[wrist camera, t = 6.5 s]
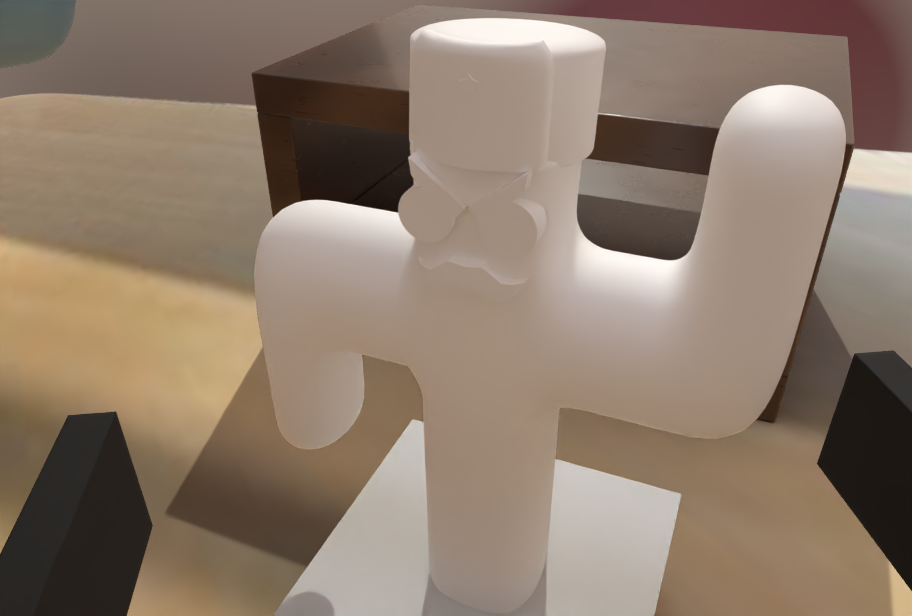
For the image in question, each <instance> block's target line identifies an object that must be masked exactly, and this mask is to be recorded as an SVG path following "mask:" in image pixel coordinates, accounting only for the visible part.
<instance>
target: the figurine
mask: <svg viewBox="0 0 912 616" xmlns="http://www.w3.org/2000/svg"><path fill="white" fill-rule="evenodd" d="M605 52H606V44H605V41H604V40H603V39H602V38H601V37H600V36H598V35H597V34H594V33H592V32H590V31H588V30H585V29H582V28H578V27H575V26H570V25H565V24H560V23H553V22H546V21H537V20H526V19H508V18H476V19H460V20H450V21H443V22H438V23H434V24H429V25H427V26H424V27H421V28H419V29H417V30H416V31H415V32H413V33H412V34H411V37H410V87H409V141H410V154H411V156H409V157H408V160H409V166H410V173H411V176H412V177H413V182H414V185H413V186H412V187H411V188H410V189H408V190H407V191H406V192H405V193H404V194H403V195H402V197H401V199H400V201H399V205H398V213H397V212H391V211H386V210H380V209H374V208H369V207H363V206H358V205H352V204H346V203H341V202H335V201H328V200H308V201H302V202H297V203H294V204H292V205H290V206H288V207H286V208H284V209H282V210H281V211H280V212H279V213H278V214H276V215H275V216H274V217H273V218H272V219H271V220H270V222H269V223H268V225H267V226H266V228H265V229H264V231H263V233H262V235H261V238H260V241H259V244H258V248H257V252H256V259H255V269H254V286H255V299H256V307H257V315H258V321H259V327H260V333H261V339H262V344H263V350H264V356H265V361H266V367H267V372H268V378H269V384H270V389H271V395H272V401H273V406H274V412H275V417H276V421H277V425H278V429H279V431H280V433H281V434H282V436H283V438H284V439H285V440H286V441H287V442H288V443H289V444H291V445H293V446H295V447H297V448H300V449H307V450H310V449H319V448H323V447H326V446H328V445H330V444H332V443H334V442H335V441H337V440H338V439H340V438H341V437H342V436H343V435H344V434H345V433H346V432H347V431H348V430H349V429H350V428H351V427H352V425H353V424H354V423H355V421H356V419H357V417H358V415H359V413H360V411H361V408H362V405H363V401H364V375H363V363H362V355H366V356H370V357H374V358H378V359H381V360H385V361H389V362H393V363H397V364H401V365H405V366H408V367H409V369H410V370H411V372H412V373H413V375H414V377H415V379H416V381H417V382H418V385H419V387H420V389H421V392H422V396H423V421H424V422H421V421H418V420H414V419H412V421H411V422H410V424H409V425H408V426H407V428H406V429H405V431H404V432H403V433H402V435H401V436H400V438H399V439H398V440H397V442H396V443H395V445H394V446H393V447H392V449H391V450H390V452H389V453H388V454H387V456H386V457H385V459H384V460H383V461H382V463H381V464H380V466H379V467H378V468H377V470H376V471H375V473H374V474H373V475H372V477H371V478H370V480H369V481H368V483H367V484H366V485H365V487H364V488H363V490H362V491H361V492H360V494H359V495H358V497H357V498H356V499H355V501H354V502H353V504H352V505H351V506H350V508H349V509H348V511H347V512H346V513H345V515H344V516H343V518H342V519H341V520H340V522H339V523H338V525H337V526H336V527H335V529H334V530H333V532H332V533H331V534H330V536H329V537H328V539H327V540H326V541H325V543H324V544H323V546H322V547H321V549H320V550H319V551H318V553H317V554H316V556H315V557H314V558H313V560H312V561H311V563H310V564H309V565H308V567H307V568H306V570H305V571H304V572H303V574H302V575H301V577H300V578H299V579H298V581H297V582H296V584H295V585H294V586H293V588H292V589H291V591H290V592H289V593H288V595H287V596H286V598H285V599H284V600H283V602H282V603H281V605H280V606H279V608H278V609H277V610H276V612H275V613H274V615H273V616H654V615H655V611H656V606H657V602H658V597H659V593H660V588H661V584H662V579H663V575H664V571H665V566H666V562H667V557H668V553H669V548H670V544H671V539H672V535H673V530H674V526H675V522H676V517H677V513H678V508H679V504H680V499H681V495H682V494H680V493H676V492H673V491H669V490H665V489H662V488H658V487H655V486H651V485H648V484H644V483H640V482H637V481H633V480H630V479H626V478H622V477H619V476H615V475H612V474H608V473H604V472H601V471H597V470H594V469H590V468H586V467H583V466H579V465H576V464H572V463H569V462H565V461H561V460H558V459H555V457H556V446H557V434H558V422H559V411H560V408H572V409H578V410H583V411H587V412H591V413H595V414H599V415H603V416H607V417H611V418H615V419H619V420H623V421H627V422H631V423H635V424H639V425H642V426H646V427H650V428H654V429H658V430H662V431H666V432H670V433H674V434H678V435H683V436H688V437H694V438H703V439H716V438H724V437H729V436H732V435H735V434H737V433H740V432H741V431H743V430H745V429H746V428H748V427H749V426H750V425H751V424H752V423H753V422H754V421H755V420H756V419H757V418H758V417H759V416H760V414H761V413H762V412H763V410H764V409H765V408H766V406H767V404H768V402H769V401H770V399H771V397H772V395H773V393H774V391H775V389H776V387H777V384H778V382H779V380H780V378H781V375H782V373H783V370H784V368H785V365H786V362H787V359H788V356H789V353H790V350H791V347H792V344H793V341H794V338H795V334H796V331H797V328H798V324H799V321H800V317H801V314H802V310H803V307H804V303H805V300H806V296H807V292H808V289H809V285H810V282H811V278H812V275H813V271H814V268H815V264H816V261H817V257H818V254H819V250H820V247H821V243H822V240H823V236H824V233H825V229H826V225H827V222H828V218H829V215H830V211H831V208H832V204H833V201H834V197H835V194H836V190H837V187H838V183H839V179H840V175H841V171H842V166H843V161H844V154H845V146H846V131H845V125H844V121H843V118H842V116H841V113H840V111H839V110H838V108H837V107H836V106H835V105H834V103H833V102H832V101H831V100H830V99H828V98H827V97H826V96H824V95H822V94H820V93H818V92H816V91H814V90H811V89H808V88H805V87H800V86H794V85H775V86H768V87H764V88H760V89H757V90H755V91H752V92H750V93H748V94H747V95H745V96H744V97H742V98H741V99H740V100H738V101H737V103H736V104H735V105H734V106H733V107H732V108H731V110H730V111H729V113H728V114H727V116H726V117H725V119H724V121H723V123H722V125H721V128H720V130H719V133H718V136H717V139H716V143H715V147H714V151H713V156H712V161H711V166H710V171H709V176H708V182H707V187H706V192H705V198H704V202H703V207H702V212H701V216H700V221H699V224H698V228H697V232H696V235H695V238H694V241H693V244H692V247H691V249H690V251H689V252H688V253H687V255H685V256H684V257H682V258H680V259H677V260H661V259H656V258H650V257H644V256H639V255H633V254H627V253H622V252H616V251H611V250H607V249H603V248H601V247H599V246H597V245H595V244H593V243H592V242H590V241H589V240H588V239H587V238H586V237H585V236H584V235H583V233H582V231H581V229H580V227H579V224H578V221H577V200H578V189H579V179H580V170H581V162H582V160H584V159H585V158H587V157H588V156H589V155H590V154H591V152H592V151H593V149H594V142H595V134H596V126H597V117H598V109H599V101H600V93H601V85H602V77H603V69H604V60H605Z"/></svg>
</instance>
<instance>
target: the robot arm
mask: <svg viewBox="0 0 912 616" xmlns="http://www.w3.org/2000/svg"><path fill="white" fill-rule="evenodd" d="M75 3H76V0H0V69H1V68H7V67H13V66H18V65H24V64H29V63H34V62H37V61H40V60H43V59H45V58H47V57H49V56H50V55H52V54H53V53H54V52H55V51H56V50H57V49H58V48H59V47H60V46H61V45H62V44H63V42H64V41H65V39H66V37H67V36H68V34H69V31H70V29H71V26H72V23H73V18H74V12H75ZM817 464H818V466H819V467H820V468H821V470H822V471H823V472H824V474H825V475H826V476H827V478H828V479H829V480H830V482H831V483H832V485H833V486H834V487H835V489H836V490H837V491H838V493H839V494H840V495H841V497H842V498H843V499H844V501H845V502H846V503H847V505H848V506H849V507H850V509H851V510H852V511H853V513H854V514H855V515H856V517H857V518H858V519H859V521H860V522H861V524H862V525H863V526H864V528H865V529H866V530H867V532H868V533H869V534H870V536H871V537H872V538H873V540H874V541H875V542H876V544H877V545H878V546H879V548H880V549H881V550H882V552H883V553H884V554H885V556H886V557H887V559H888V560H889V561H890V563H891V564H892V565H893V567H894V568H895V569H896V571H897V572H898V573H899V575H900V576H901V577H902V579H903V580H904V581H905V583H906V584H907V585H908V587H909V588H910V589H911V591H912V368H911V367H910V366H909V365H908V364H907V363H906V362H905V361H904V360H903V359H902V358H901V357H900V356H899V355H898V354H897V353H895V352H894V351H882V352H870V353H857V354H854V357H853V360H852V363H851V366H850V368H849V371H848V374H847V377H846V380H845V383H844V386H843V389H842V392H841V395H840V398H839V401H838V404H837V407H836V410H835V412H834V415H833V418H832V421H831V424H830V427H829V430H828V433H827V436H826V439H825V442H824V445H823V448H822V451H821V454H820V456H819V459H818V462H817ZM152 526H153V525H152V522H151V519H150V516H149V513H148V510H147V507H146V503H145V500H144V497H143V494H142V491H141V488H140V485H139V482H138V479H137V476H136V472H135V469H134V466H133V463H132V460H131V457H130V454H129V451H128V448H127V445H126V441H125V438H124V435H123V432H122V429H121V426H120V423H119V420H118V417H117V414H116V412H106V413H93V414H81V415H68V417H67V419H66V421H65V423H64V425H63V427H62V429H61V431H60V433H59V435H58V437H57V439H56V441H55V443H54V446H53V448H52V450H51V452H50V454H49V456H48V458H47V460H46V462H45V464H44V466H43V468H42V470H41V472H40V474H39V476H38V478H37V480H36V482H35V484H34V486H33V488H32V490H31V492H30V494H29V497H28V499H27V501H26V503H25V505H24V507H23V509H22V511H21V513H20V515H19V517H18V519H17V521H16V523H15V525H14V527H13V529H12V531H11V533H10V535H9V537H8V539H7V541H6V543H5V546H4V548H3V550H2V552H1V554H0V616H127V612H128V609H129V606H130V602H131V599H132V595H133V592H134V588H135V585H136V581H137V578H138V574H139V571H140V567H141V564H142V561H143V557H144V554H145V550H146V547H147V543H148V540H149V536H150V533H151V529H152Z"/></svg>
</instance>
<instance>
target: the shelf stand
mask: <svg viewBox="0 0 912 616" xmlns="http://www.w3.org/2000/svg"><path fill="white" fill-rule="evenodd" d="M476 18H508V19H526V20H537V21H546V22H553V23H560V24H565V25H570V26H575V27H578V28H582V29H585V30H588V31H590V32H592V33H594V34H597V35H598V36H600V37H601V38H602V39H603V40H604V41H605V44H606V52H605V60H604V69H603V77H602V85H601V93H600V101H599V109H598V117H597V126H596V134H595V142H594V149H593V151H592V152H591V154H590V155H589V156H588V157H587V158H585V159H584V160H582V162H581V170H580V179H579V189H578V200H577V221H578V224H579V227H580V229H581V231H582V233H583V235H584V236H585V237H586V238H587V239H588V240H589V241H590V242H592V243H593V244H595V245H597V246H599V247H601V248H603V249H607V250H611V251H616V252H622V253H627V254H633V255H639V256H644V257H650V258H656V259H661V260H677V259H680V258H682V257H684V256H685V255H687V253H688V252H689V251H690V249H691V247H692V244H693V241H694V238H695V235H696V232H697V228H698V224H699V221H700V216H701V212H702V207H703V202H704V198H705V192H706V187H707V182H708V176H709V171H710V166H711V161H712V156H713V151H714V147H715V143H716V139H717V136H718V133H719V130H720V128H721V125H722V123H723V121H724V119H725V117H726V116H727V114H728V113H729V111H730V110H731V108H732V107H733V106H734V105H735V104H736V103H737V101H738V100H740V99H741V98H742V97H744V96H745V95H747V94H748V93H750V92H752V91H755V90H757V89H760V88H764V87H768V86H775V85H794V86H800V87H805V88H808V89H811V90H814V91H816V92H818V93H820V94H822V95H824V96H826V97H827V98H828V99H830V100H831V101H832V102H833V103H834V105H835V106H836V107H837V108H838V110H839V111H840V113H841V116H842V118H843V121H844V125H845V131H846V146H845V154H844V161H843V166H842V171H841V175H840V179H839V183H838V187H837V190H836V194H835V197H834V201H833V204H832V208H831V211H830V215H829V218H828V222H827V225H826V229H825V233H824V236H823V240H822V243H821V247H820V250H819V254H818V257H817V261H816V264H815V268H814V271H813V275H812V278H811V282H810V285H809V289H808V292H807V296H806V300H805V303H804V307H803V310H802V314H801V317H800V321H799V324H798V328H797V331H796V334H795V338H794V341H793V344H792V347H791V350H790V353H789V356H788V359H787V362H786V365H785V368H784V370H783V373H782V375H781V378H780V380H779V382H778V384H777V387H776V389H775V391H774V393H773V395H772V397H771V399H770V401H769V402H768V404H767V406H766V408H765V409H764V410H763V412H762V413H761V414H760V416H759V417H758V418H759V419H763V420H767V421H771V422H774V421H775V420H776V417H777V413H778V410H779V406H780V403H781V399H782V396H783V392H784V389H785V385H786V382H787V378H788V375H789V372H790V368H791V365H792V361H793V358H794V354H795V351H796V347H797V344H798V340H799V337H800V333H801V330H802V326H803V323H804V319H805V316H806V312H807V309H808V305H809V302H810V298H811V295H812V292H813V288H814V285H815V281H816V278H817V274H818V271H819V267H820V264H821V260H822V257H823V253H824V250H825V246H826V243H827V239H828V236H829V232H830V229H831V225H832V222H833V219H834V215H835V212H836V208H837V205H838V201H839V198H840V193H841V191H842V188H843V184H844V181H845V177H846V174H847V170H848V167H849V163H850V160H851V156H852V153H853V149H854V131H853V115H852V100H851V85H850V69H849V55H848V38H847V37H842V36H829V35H816V34H802V33H789V32H775V31H762V30H747V29H736V28H722V27H708V26H694V25H681V24H668V23H654V22H642V21H629V20H614V19H602V18H588V17H575V16H562V15H549V14H534V13H521V12H508V11H494V10H482V9H467V8H455V7H442V6H428V5H416V6H413V7H411V8H409V9H406V10H404V11H401V12H399V13H397V14H394V15H392V16H389V17H387V18H384V19H382V20H379V21H377V22H375V23H372V24H370V25H367V26H365V27H362V28H360V29H357V30H355V31H352V32H350V33H348V34H345V35H343V36H340V37H338V38H335V39H333V40H331V41H328V42H326V43H323V44H321V45H318V46H316V47H314V48H311V49H309V50H306V51H304V52H301V53H299V54H296V55H294V56H292V57H289V58H287V59H284V60H282V61H280V62H277V63H274V64H272V65H270V66H267V67H265V68H262V69H260V70H258V71H255V72H253V73H252V81H253V88H254V94H255V100H256V108H257V112H258V121H259V128H260V135H261V141H262V148H263V154H264V161H265V168H266V174H267V181H268V188H269V194H270V201H271V208H272V214H273V217H274V216H275V215H276V214H278V213H279V212H280V211H281V210H282V209H284V208H286V207H288V206H290V205H292V204H294V203H297V202H302V201H308V200H328V201H335V202H341V203H346V204H352V205H358V206H363V207H369V208H374V209H380V210H386V211H391V212H397V213H398V205H399V201H400V199H401V197H402V195H403V194H404V193H405V192H406V191H407V190H408V189H410V188H411V187H412V186H413V185H414V182H413V177H412V176H411V173H410V166H409V160H408V157H409V156H411V154H410V141H409V87H410V37H411V34H412V33H413V32H415V31H416V30H417V29H419V28H421V27H424V26H427V25H429V24H434V23H438V22H443V21H450V20H460V19H476Z"/></svg>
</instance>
